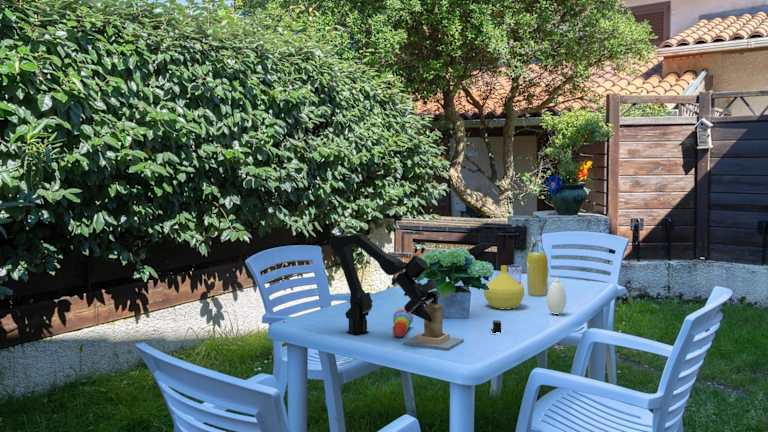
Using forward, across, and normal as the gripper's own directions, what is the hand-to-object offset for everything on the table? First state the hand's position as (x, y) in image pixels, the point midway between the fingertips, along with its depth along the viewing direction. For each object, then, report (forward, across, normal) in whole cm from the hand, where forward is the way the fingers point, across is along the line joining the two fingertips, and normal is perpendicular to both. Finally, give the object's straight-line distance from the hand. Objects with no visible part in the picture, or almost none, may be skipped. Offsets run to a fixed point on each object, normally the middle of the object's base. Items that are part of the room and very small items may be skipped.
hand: (436, 318), depth 246 cm
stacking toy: (-13, +17, +20) cm, 29 cm away
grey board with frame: (+5, 0, +7) cm, 9 cm away
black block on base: (+16, +28, -2) cm, 32 cm away
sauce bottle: (+24, +68, -11) cm, 73 cm away
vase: (+6, +73, +7) cm, 73 cm away
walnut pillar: (+5, 0, +7) cm, 8 cm away
